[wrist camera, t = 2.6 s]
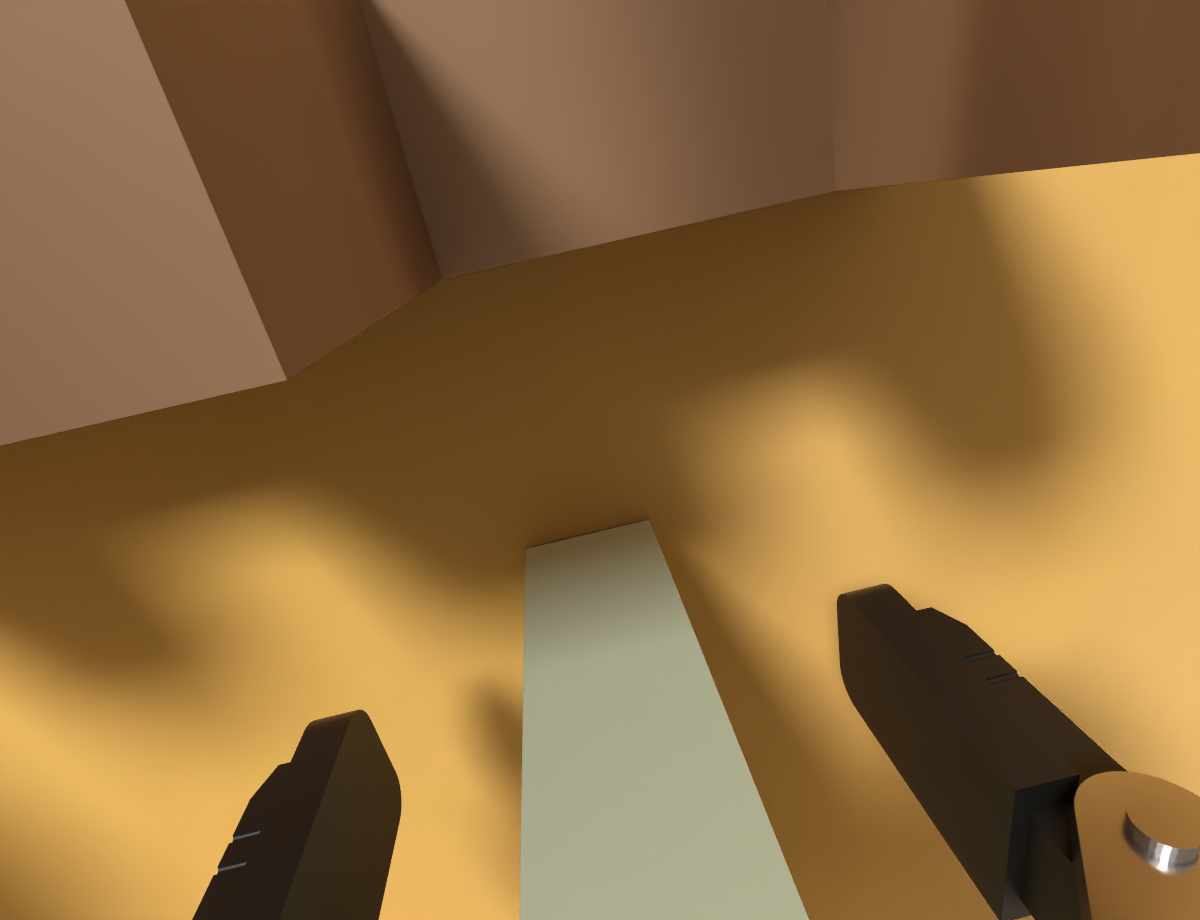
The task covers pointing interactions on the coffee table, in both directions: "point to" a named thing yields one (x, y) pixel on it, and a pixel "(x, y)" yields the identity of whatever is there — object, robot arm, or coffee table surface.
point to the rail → (481, 152)
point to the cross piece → (632, 751)
